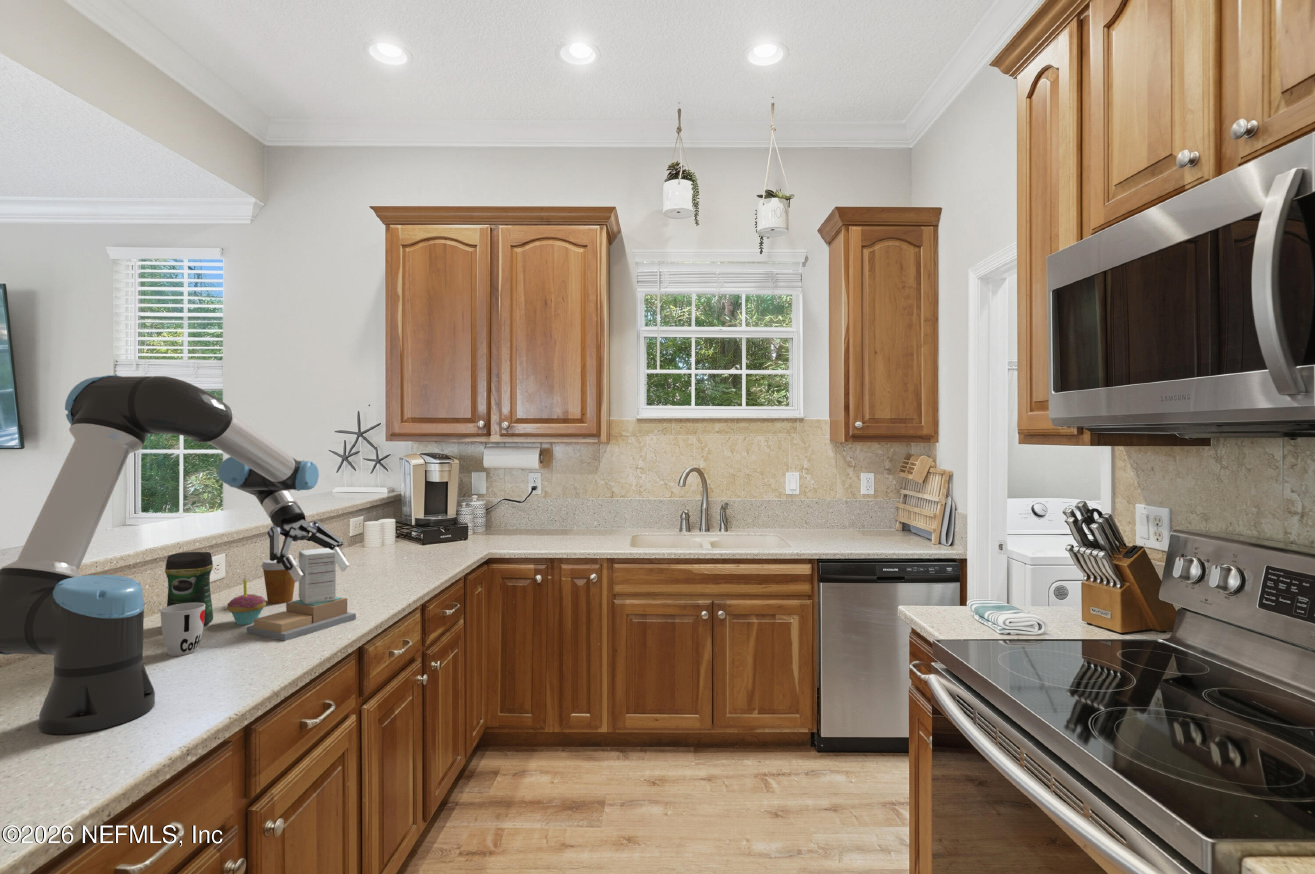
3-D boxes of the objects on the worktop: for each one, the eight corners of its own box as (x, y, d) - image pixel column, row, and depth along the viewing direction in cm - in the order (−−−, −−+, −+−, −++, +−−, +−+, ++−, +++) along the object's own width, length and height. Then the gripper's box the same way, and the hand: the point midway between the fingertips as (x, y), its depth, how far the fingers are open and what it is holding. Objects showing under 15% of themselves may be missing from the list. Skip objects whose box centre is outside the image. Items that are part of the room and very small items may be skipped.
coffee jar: (217, 620, 170) (218, 548, 170) (204, 628, 162) (204, 554, 162) (174, 622, 167) (175, 550, 167) (159, 631, 160) (159, 555, 160)
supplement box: (297, 598, 169) (298, 550, 169) (328, 594, 174) (329, 547, 174) (304, 604, 164) (304, 554, 164) (336, 599, 168) (336, 551, 168)
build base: (285, 640, 153) (285, 616, 153) (246, 632, 159) (246, 609, 159) (355, 619, 171) (356, 597, 171) (318, 612, 177) (318, 591, 177)
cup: (181, 659, 140) (181, 613, 140) (150, 656, 142) (150, 610, 142) (214, 647, 148) (214, 603, 148) (184, 645, 149) (184, 601, 149)
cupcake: (262, 625, 166) (262, 577, 165) (222, 628, 162) (223, 580, 162) (268, 616, 173) (268, 571, 173) (231, 619, 170) (231, 573, 170)
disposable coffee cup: (266, 598, 192) (266, 557, 192) (302, 596, 195) (302, 556, 195) (256, 606, 183) (257, 563, 183) (294, 604, 186) (294, 562, 186)
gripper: (318, 516, 186) (356, 573, 180) (231, 527, 164) (270, 592, 157) (331, 498, 184) (370, 555, 178) (245, 507, 161) (285, 573, 155)
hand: (323, 573), depth 168 cm, fingers open, 13 cm apart
